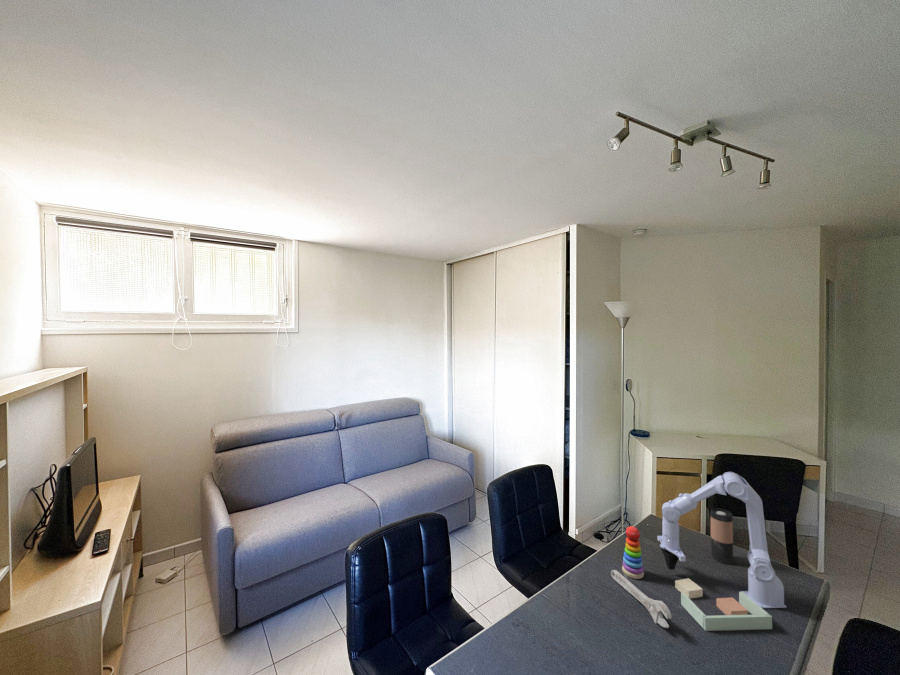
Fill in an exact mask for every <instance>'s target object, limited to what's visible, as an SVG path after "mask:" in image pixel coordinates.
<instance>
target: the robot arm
mask: <svg viewBox="0 0 900 675" xmlns="http://www.w3.org/2000/svg"><path fill="white" fill-rule="evenodd" d="M715 494H718V495H723V496H727V494H728V495H730V496H731V497H733V498H736V499H738V500H740V501H742V502H743V503H744V504H745V508H746V509H745V510H746V520H747V527H748V528H747V529H748V537H749V548H748V549H749V551H748V553H747V556H746V557H747V561H748V562H749V564H750V566H749V567H748V568H747V579H748V580H747V590H741V592H743V593H744V594H745V595H747V596H748V597H749V598H750V599H751V600H753V601H754V602H755V603H756V604H757V605H759V606H760V607H761V608H762V609H786V608H787V607H788V606H787V605H785V587H784V583H783V582H782V581H781V579H780V578H779V577H778V576H777V575H776V571H775V569H774V568H773V565H772V564H771V559H770V558H771V557H770V555H769V550H768V540H767V533H766V523H765V515H764V507H763V506H764V505H763V500H762V498H761V496H760V495H759V494H758V493H757V492H756V490H755V489H753V487H752V486H751V485H750V483H749V482H747V480H746V479H745V478H743V477H742V476H741V475H739V474H738V473H735V472H733V471H727V472H724V473H723V474H722V475H721V474H720V475H718V476H716V477H714V478H713V479H712V480H710V481H709V482H707V483H705V484H704V485H702V486H701V487H699V488H698V489H697V490H695V491H694V492H692V493H687V492H685V493H682V492H681V493H679V494H678V496H677V497H676V498H674V499H672V500H671V499H670V500H668V501H666V502H664V503H663V504H662V506H661V514H662V521H661V523H662V524H661V525H662V528H661V529H662V530H661V531H662V534H661V535H657V539H656V540H657V541H658V542H660V544H659V547H660V550H661V552H662V553H663V557H664V559H665V560H664V561H665V563H666V567H667V568H668V570H670V571H674V570H675V568H676V566H677V563H678V561H680V562H686V560H687V559H686V558H687V556H686V555H685V554H684V553H683V551H682V549H681V547H680V524H679V521H680V517H681V516H684V515H685V514H687V513H689V512H690V511H693V510H694V509H696V508H697V507H698V503H700V502H701V501H703V500H706V499H708V498H710V497H712V496H713V495H715Z"/></svg>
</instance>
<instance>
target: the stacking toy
mask: <svg viewBox="0 0 900 675" xmlns="http://www.w3.org/2000/svg"><path fill="white" fill-rule="evenodd" d="M625 534H626V538H625V547H624V552H623V557H622V558H623V559H622V560H623V561H622V566H621V570H622V573H623V574H624V575H626V576H627V577H629V578H631V579H633V580H634V579H635V580H639V579H643V578H644V576H645V571H644V570H645V569H644V566H643V561H642V560H643V557H642V551H641V549H642V546H641V542H640V540H639V539H640V537H641V533H640V531H639V529H638V528H637V527H636V526H633V525H631V526H628V527H626V530H625Z"/></svg>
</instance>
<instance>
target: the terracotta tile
mask: <svg viewBox="0 0 900 675" xmlns="http://www.w3.org/2000/svg"><path fill="white" fill-rule="evenodd" d="M716 607H717V608H718V609H719V610H720V611H721V612H722V613H723V614H724V615H749V611H748V610H747V609H746V608H745V607H743V606H742V605H741V604H740V603H739V601H737V599H735V598H734V597H718V598H716Z"/></svg>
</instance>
